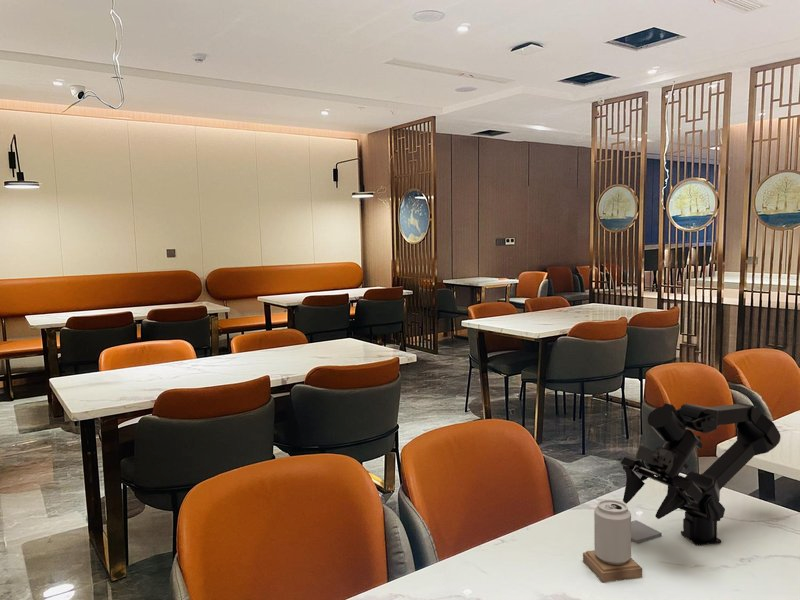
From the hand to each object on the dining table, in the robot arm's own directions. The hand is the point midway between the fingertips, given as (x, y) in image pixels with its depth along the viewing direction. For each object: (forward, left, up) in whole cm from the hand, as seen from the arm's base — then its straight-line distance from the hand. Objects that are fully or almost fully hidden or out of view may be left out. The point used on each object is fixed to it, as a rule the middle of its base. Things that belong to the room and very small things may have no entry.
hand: (640, 509), depth 137 cm
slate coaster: (-6, -12, -11) cm, 17 cm away
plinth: (+8, +2, -11) cm, 14 cm away
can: (+8, +2, -9) cm, 12 cm away
